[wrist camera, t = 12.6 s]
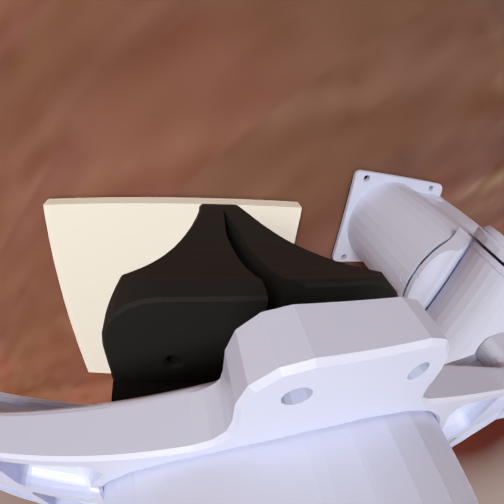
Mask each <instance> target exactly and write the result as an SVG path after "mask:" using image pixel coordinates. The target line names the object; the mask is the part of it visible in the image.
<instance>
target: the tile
mask: <svg viewBox="0 0 504 504" xmlns="http://www.w3.org/2000/svg"><path fill="white" fill-rule="evenodd" d="M202 204H233V205H238V206H239V207H241V208H242V209H243V210H244V211H246V212H247V213H248V214H250V215H251V216H252V217H253V218H255V219H256V220H257V221H259V222H260V223H261V224H263V225H264V226H266V227H267V228H268V229H270V230H271V231H273V232H274V233H276V234H278V235H279V236H281V237H282V238H284V239H286V240H288V241H290V242H291V243H293V244H294V242H295V238H296V233H297V229H298V224H299V220H300V215H301V210H302V207H301V206H300V204H299V203H298V202H290V201H271V200H249V199H222V198H179V197H102V198H61V199H48V200H47V201H46V202H45V203H44V205H43V206H44V213H45V218H46V224H47V230H48V235H49V240H50V245H51V250H52V254H53V259H54V263H55V267H56V271H57V275H58V279H59V283H60V287H61V290H62V294H63V298H64V301H65V305H66V308H67V311H68V315H69V318H70V321H71V324H72V327H73V330H74V333H75V336H76V339H77V342H78V345H79V348H80V350H81V353H82V356H83V358H84V361H85V364H86V366H87V369H88V371H89V372H97V373H111V371H110V368H109V365H108V361H107V358H106V355H105V351H104V348H103V344H102V329H103V324H104V318H105V314H106V310H107V307H108V304H109V301H110V299H111V296H112V294H113V291H114V289H115V287H116V285H117V283H118V281H119V279H120V277H121V276H122V275H123V274H126V273H129V272H132V271H134V270H137V269H139V268H142V267H144V266H146V265H148V264H150V263H152V262H154V261H156V260H157V259H159V258H161V257H162V256H164V255H165V254H166V253H168V252H169V251H170V250H171V249H173V248H174V247H175V246H176V245H177V244H178V243H179V242H180V240H181V239H182V238H183V237H184V236H185V234H186V233H187V232H188V230H189V229H190V227H191V226H192V224H193V222H194V221H195V219H196V217H197V215H198V212H199V206H200V205H202Z"/></svg>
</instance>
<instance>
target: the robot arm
mask: <svg viewBox="0 0 504 504" xmlns="http://www.w3.org/2000/svg"><path fill="white" fill-rule="evenodd" d="M366 175H367V178H366V179H365V180H364V177H365V176H366ZM430 186H431V187H430ZM429 187H430V189H429ZM441 192H442V186H441V185H440V184H438V183H434V182H429V181H424V180H419V179H414V178H408V177H402V176H397V175H391V174H385V173H378V172H372V171H365V170H358V171H356V172H355V173H354V176H353V180H352V184H351V188H350V191H349V195H348V199H347V203H346V207H345V210H344V214H343V218H342V222H341V225H340V229H339V232H338V236H337V239H336V243H335V246H334V250H333V253H332V258H333V260H331V259H328V258H325V257H323V256H320V255H318V254H315V253H313V252H310V251H308V250H306V249H303V248H301V247H299V246H297V245H295V244H293V243H291V242H290V241H288V240H286V239H284V238H282V237H281V236H279V235H278V234H276V233H274V232H273V231H271V230H270V229H268V228H267V227H266V226H264V225H263V224H261V223H260V222H259V221H257V220H256V219H255V218H253V217H252V216H251V215H250V214H248V213H247V212H246V211H244V210H243V209H242V208H241V207H239V206H238V205H233V204H202V205H200V206H199V212H198V215H197V217H196V219H195V221H194V222H193V224H192V226H191V227H190V229H189V230H188V232H187V233H186V234H185V236H184V237H183V238H182V239H181V240H180V242H179V243H178V244H177V245H176V246H175V247H174V248H173V249H171V250H170V251H169V252H168V253H166V254H165V255H164V256H162V257H161V258H159V259H157V260H156V261H154V262H152V263H150V264H148V265H146V266H144V267H142V268H139V269H137V270H134V271H132V272H129V273H126V274H123V275H122V276H121V277H120V279H119V281H118V283H117V285H116V287H115V289H114V291H113V294H112V296H111V299H110V301H109V304H108V307H107V310H106V314H105V318H104V324H103V329H102V344H103V348H104V351H105V355H106V358H107V361H108V365H109V368H110V371H111V374H112V377H113V390H112V402H107V403H100V404H92V405H90V404H79V403H69V402H60V401H52V400H45V399H38V398H31V397H25V396H19V395H13V394H8V393H3V392H0V490H1V491H4V492H7V493H9V494H12V495H15V496H18V497H21V498H24V499H27V500H30V501H34V502H37V503H40V504H479V503H478V500H477V498H476V496H475V494H474V492H473V490H472V488H471V486H470V484H469V482H468V480H467V477H466V475H465V473H464V471H463V469H462V467H461V465H460V464H459V462H458V460H457V458H456V456H455V454H454V452H453V450H452V448H451V447H453V446H454V445H456V444H458V443H459V442H461V441H463V440H464V439H466V438H468V437H469V436H471V435H472V434H474V433H475V432H477V431H478V430H480V429H482V428H483V427H485V426H486V425H488V424H489V423H491V422H492V421H494V420H495V419H500V418H504V236H503V235H502V234H501V233H499V232H498V231H497V230H495V229H494V228H493V227H491V226H490V225H488V226H484V227H483V228H482V227H480V226H479V225H478V224H476V223H475V222H474V221H473V220H471V219H470V218H469V217H467V216H466V215H465V214H463V213H462V212H461V211H459V210H458V209H457V208H455V207H454V206H453V205H451V204H450V203H448V202H447V201H446V200H444V199H443V198H441V197H440V195H441ZM344 254H345V255H344ZM342 255H344V256H343V257H342ZM341 262H364V263H365V265H366V266H367V267H368V269H365V268H360V267H356V266H351V265H348V264H344V263H341Z"/></svg>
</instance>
